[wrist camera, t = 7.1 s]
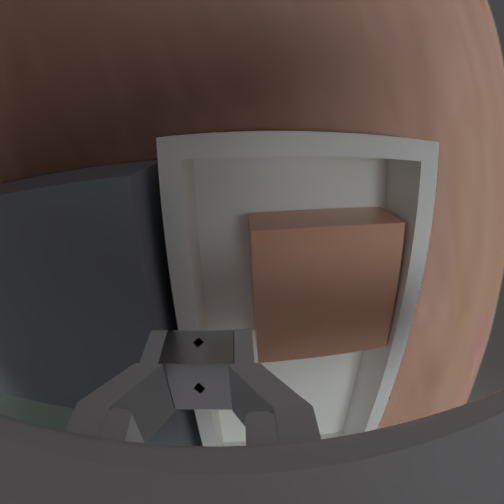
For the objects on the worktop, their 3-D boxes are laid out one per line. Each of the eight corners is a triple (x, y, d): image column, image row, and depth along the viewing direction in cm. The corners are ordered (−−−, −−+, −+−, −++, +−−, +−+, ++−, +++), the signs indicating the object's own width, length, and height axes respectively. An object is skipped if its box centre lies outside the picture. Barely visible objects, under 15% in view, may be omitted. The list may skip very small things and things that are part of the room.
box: (175, 135, 13) (156, 137, 10) (397, 136, 13) (439, 142, 10) (213, 441, 20) (212, 480, 17) (348, 429, 21) (360, 465, 17)
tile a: (405, 222, 12) (379, 206, 14) (250, 231, 11) (247, 212, 14) (386, 346, 14) (368, 318, 16) (258, 362, 14) (255, 330, 16)
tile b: (3, 393, 12) (-16, 424, 10) (93, 411, 12) (78, 452, 10) (47, 456, 14) (36, 485, 12) (129, 473, 14) (122, 507, 12)
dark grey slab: (-26, 189, 13) (-85, 215, 8) (165, 158, 13) (129, 175, 9) (58, 418, 19) (38, 465, 15) (204, 433, 20) (201, 492, 15)
